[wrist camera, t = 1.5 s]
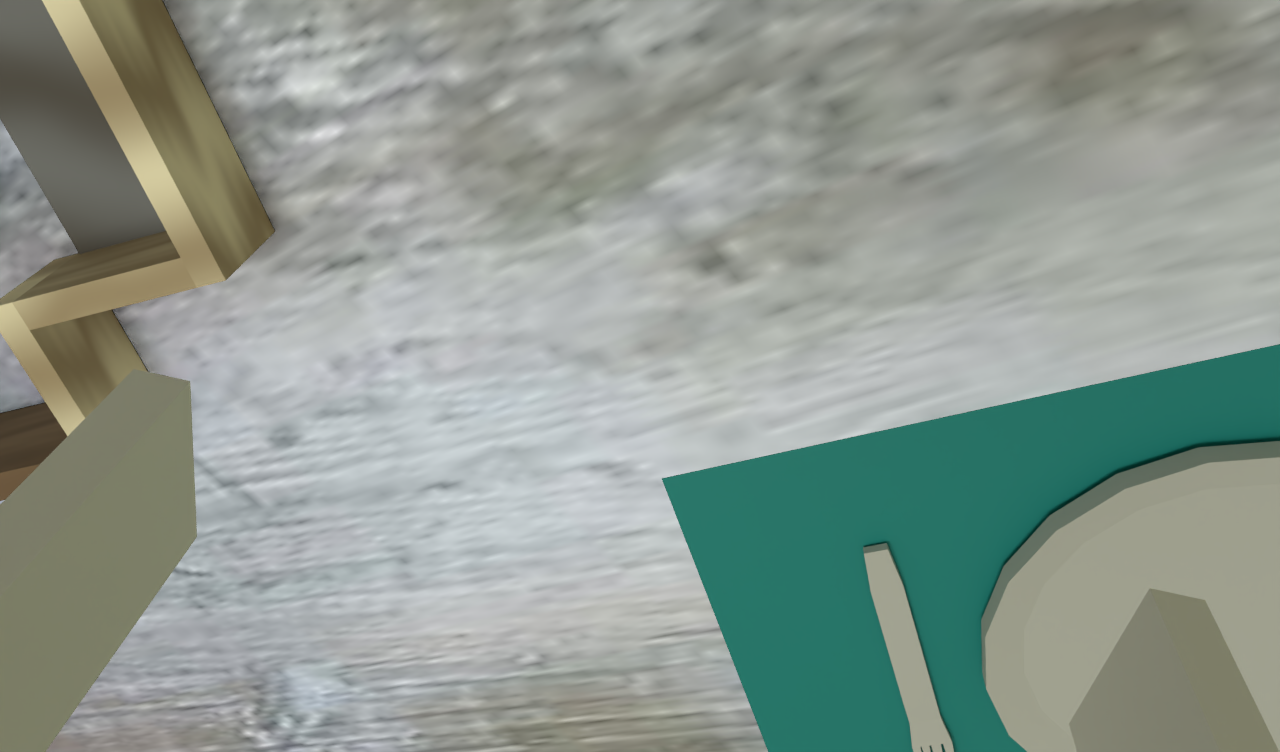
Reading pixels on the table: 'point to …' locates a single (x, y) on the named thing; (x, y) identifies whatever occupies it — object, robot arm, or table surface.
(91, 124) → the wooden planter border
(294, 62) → the table surface
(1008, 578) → the place mat
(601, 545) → the table surface
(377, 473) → the table surface
